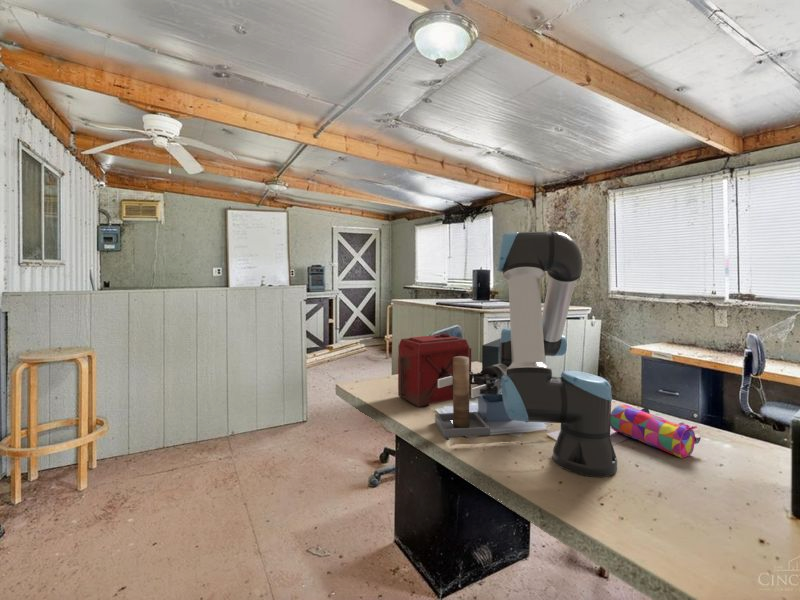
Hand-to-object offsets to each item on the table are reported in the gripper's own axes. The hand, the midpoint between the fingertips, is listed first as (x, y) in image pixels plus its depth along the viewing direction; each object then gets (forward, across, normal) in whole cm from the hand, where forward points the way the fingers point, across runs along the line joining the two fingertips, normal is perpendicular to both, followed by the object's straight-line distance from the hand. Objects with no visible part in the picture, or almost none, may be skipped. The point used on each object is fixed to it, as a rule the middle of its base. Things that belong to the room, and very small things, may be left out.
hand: (454, 388), depth 121 cm
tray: (-3, 0, -14) cm, 14 cm away
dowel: (-3, 0, -13) cm, 13 cm away
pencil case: (-37, -43, -14) cm, 58 cm away
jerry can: (-20, +29, -14) cm, 38 cm away
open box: (-19, -2, -14) cm, 24 cm away
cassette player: (-55, +20, -14) cm, 61 cm away
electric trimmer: (-54, -34, -14) cm, 66 cm away
